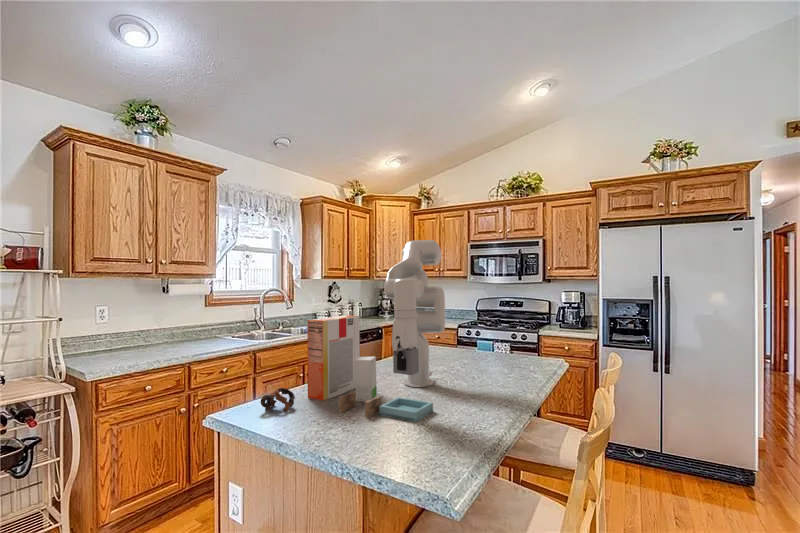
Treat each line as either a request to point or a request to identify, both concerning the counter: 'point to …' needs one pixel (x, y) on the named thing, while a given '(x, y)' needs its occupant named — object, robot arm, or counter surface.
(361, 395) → the skincare box
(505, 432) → the counter surface
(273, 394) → the brown looped piece
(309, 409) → the counter surface
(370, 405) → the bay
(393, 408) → the tray
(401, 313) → the robot arm
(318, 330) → the cereal box
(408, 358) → the grey rectangular block
